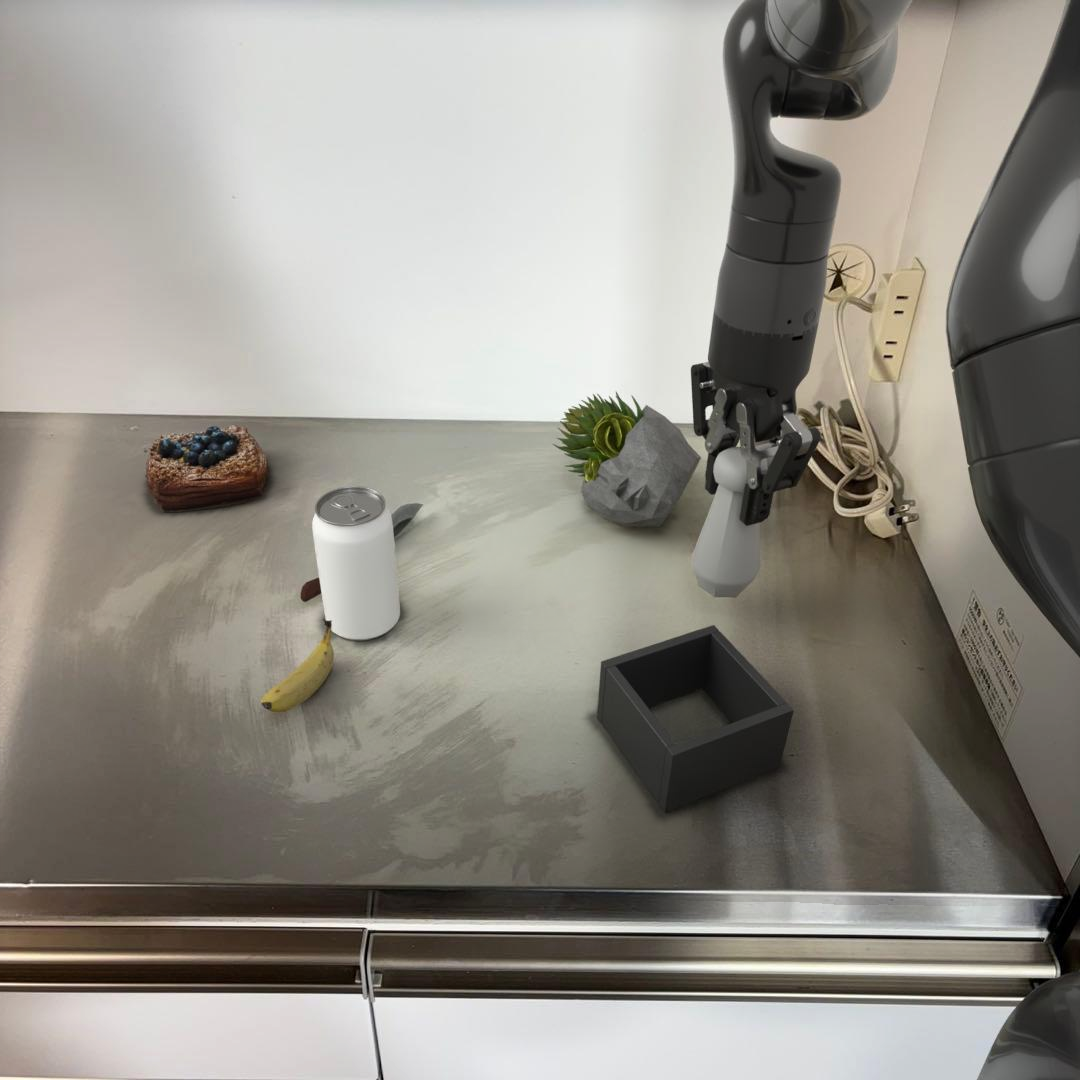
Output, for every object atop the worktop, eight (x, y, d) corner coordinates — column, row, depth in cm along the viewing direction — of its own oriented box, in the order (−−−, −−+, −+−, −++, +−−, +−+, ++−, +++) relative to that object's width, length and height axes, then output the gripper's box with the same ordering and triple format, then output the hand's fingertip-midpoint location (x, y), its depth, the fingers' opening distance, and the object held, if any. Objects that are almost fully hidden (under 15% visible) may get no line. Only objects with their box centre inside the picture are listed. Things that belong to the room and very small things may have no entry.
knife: (417, 510, 99) (416, 485, 97) (430, 515, 98) (428, 490, 96) (298, 611, 85) (293, 585, 84) (311, 617, 85) (307, 590, 83)
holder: (780, 766, 72) (794, 709, 69) (664, 813, 68) (672, 755, 65) (705, 680, 79) (714, 624, 76) (596, 717, 76) (600, 661, 72)
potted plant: (645, 542, 89) (512, 461, 92) (659, 552, 101) (541, 480, 105) (715, 430, 88) (578, 352, 92) (720, 453, 101) (599, 384, 104)
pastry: (149, 464, 105) (137, 416, 101) (262, 447, 108) (254, 400, 105) (151, 519, 96) (138, 469, 93) (274, 499, 100) (266, 450, 96)
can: (375, 586, 88) (364, 474, 81) (415, 622, 84) (406, 508, 77) (312, 614, 85) (294, 500, 78) (350, 654, 81) (335, 537, 74)
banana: (286, 743, 73) (279, 705, 71) (258, 735, 74) (250, 698, 71) (347, 656, 81) (342, 620, 78) (321, 650, 81) (316, 614, 79)
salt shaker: (760, 605, 82) (786, 475, 75) (693, 605, 82) (712, 474, 75) (748, 564, 87) (771, 438, 79) (684, 563, 87) (702, 437, 79)
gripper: (670, 282, 74) (650, 474, 84) (786, 356, 63) (748, 565, 73) (751, 269, 76) (723, 456, 86) (875, 337, 66) (826, 541, 76)
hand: (734, 505), depth 80 cm, fingers closed on salt shaker, 4 cm apart
